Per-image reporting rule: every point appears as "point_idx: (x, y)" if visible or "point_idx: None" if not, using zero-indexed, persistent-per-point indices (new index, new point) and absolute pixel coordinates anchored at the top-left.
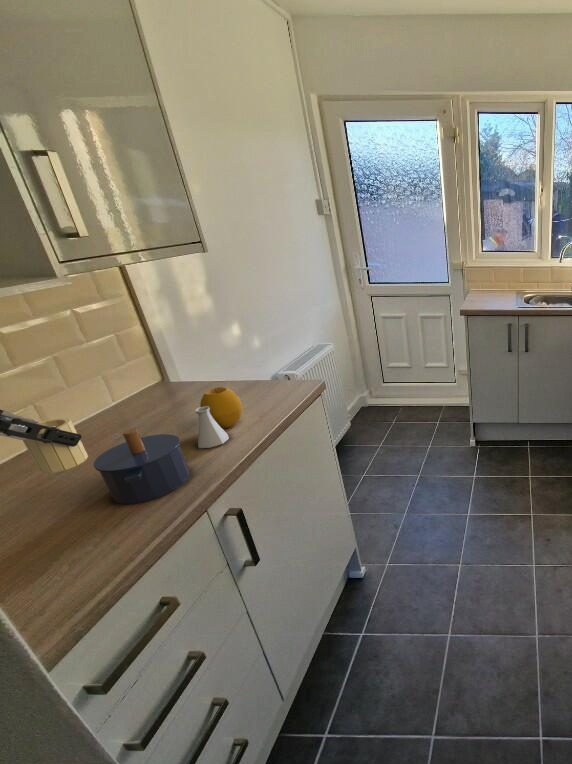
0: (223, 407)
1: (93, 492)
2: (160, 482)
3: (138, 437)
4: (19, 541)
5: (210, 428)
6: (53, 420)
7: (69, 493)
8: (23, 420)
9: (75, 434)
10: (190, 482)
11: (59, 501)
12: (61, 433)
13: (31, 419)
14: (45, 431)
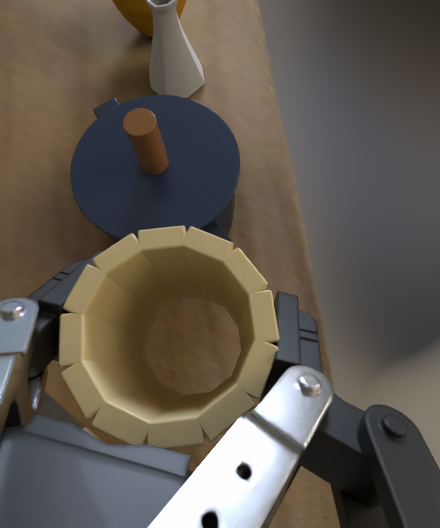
0: None
1: (71, 242)
2: (226, 223)
3: (160, 134)
4: (60, 383)
5: (183, 50)
6: (134, 256)
7: (24, 249)
8: (31, 339)
9: (297, 310)
10: (243, 197)
11: (27, 272)
12: (322, 372)
13: (285, 483)
14: (334, 451)
